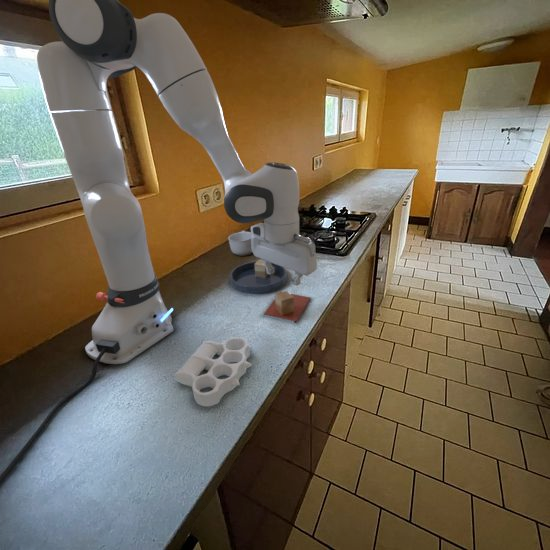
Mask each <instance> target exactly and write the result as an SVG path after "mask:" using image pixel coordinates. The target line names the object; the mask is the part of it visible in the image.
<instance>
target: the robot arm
mask: <svg viewBox="0 0 550 550" xmlns="http://www.w3.org/2000/svg"><path fill="white" fill-rule="evenodd" d="M48 13H49V19H50V21H51V24H52V26H53V28H54V31H55V33H56V34H57V36H58V37H59V38H60V40H61V41H52V42H48V43H46V44H44V45H42V46H41V47H40V48H39V49H38V51H37V55H36V62H37V69H38V75H39V80H40V84H41V89H42V93H43V97H44V100H45V104H46V106H47V110H48V112H49V115H50V119H51V121H52V125H53V128H54V131H55V132H56V137H57V139H58V142H59V145H60V147H61V150H62V153H63V155H64V158H65V161H66V163H67V166H68V169H69V173H70V175H71V177H72V180H73V182H74V185H75V188H76V191H77V194H78V197H79V199H80V202H81V206H82V209H83V213H84V218H85V221H86V223H87V227H88V229H89V231H90V235H91V238H92V240H93V243H94V247H95V249H96V251H97V254H98V257H99V260H100V264H101V266H102V269H103V272H104V276H105V278H106V281H107V284H108V285H107V293H106V292H103V291H99V292H97V293H96V296H95V299H96V300H98V301H101V302H106V303H105V305H104V307H103V309H102V311H100V314H99V315H98V317H97V318H96V320H95V322H94V323H93V324H92V326H91V337H92V340H91V341H90V342H88V343H87V344H86V345H85V346H84V350H85V353H86V355H87V356H88V357H89V358H90V359H92V360H94V362H93V364H92V369H91V375H90V376H89V378H88V379H87V380H86V381H85V382H84V383H83V384H82V385H81V386H79V387H78V388H76V389H75V390H73V391H71V392H70V393H68V394H67V395H66V396H65V397H63V398H62V399H61V400H59V402H58V403H57V404H56V405H55V407H54V408H53V409H52V410H51V411H50V412H49V413H48V415H47V416H46V417H45V418H44V420H43V421H42V423H41V424H40V426H39V427H38V428H37V429H36V431H35V432H34V434H32V436H31V437H30V438H29V440H28V441H27V442H26V444H24V446H23V447H22V448H21V450H20V451H19V452H18V453H17V455H16V456H15V457H14V458H13V459H12V461H11V462H10V463H9V464H8V466H7V467H6V468H5V469H4V471H3V472H2V473H1V474H0V485H1V483H2V482H4V480H5V479H6V477H7V476H9V474H10V473H11V472H12V470H13V469H14V468H15V467H16V466H17V464H18V463H19V461H20V460H21V459H22V458H23V456H24V455H25V454H26V452H27V451H28V450H29V448H30V447H32V445H33V444H34V442H35V441H36V440H37V439H38V437H39V436H40V434H41V433H42V432H43V430H44V429H45V428H46V426H47V425H48V424H49V422H50V421H51V420H52V418H53V417H54V416H55V414H56V413H57V412H58V411H59V410H60V409H61V407H62V406H63V405H64V404H66V403H67V401H69V400H70V399H72V398H73V397H74V396H76V395H77V394H78V393H80V392H81V391H83V390H84V389H85V388H87V387H88V386H89V385H90V384H91V383H92V382H93V380H94V379H95V378H96V375H97V371H98V369H97V368H98V365H99V363H102V364H107V365H108V364H109V365H122V364H127V363H129V362H130V361H131V360H132V359H134V358H136V357H137V356H139V355H140V354H141V353H143V352H145V351H146V350H148V349H149V348H150V347H152V346H153V345H155V344H156V343H158V342H159V341H161V340H162V339H164V338H166V336H168V335H170V334H171V333H173V332H174V327H173V324H172V323H173V322H172V321H173V316H172V314H171V313H172V312H173V311H174V308H173V307H171V308H170V309H169V310H168V308H167V306H166V305H165V303H164V300H163V297H162V295H161V292H160V283H159V280H158V275H157V274H156V273H155V271H154V270H155V269H154V267H153V263H152V258H151V254H150V251H149V245H148V238H147V231H146V225H145V220H144V215H143V210H142V205H141V203H140V201H139V199H137V198H136V196H135V195H134V194H133V193H132V191H131V187H130V183H129V178H128V174H127V168H126V163H125V157H124V150H123V146H122V142H121V139H120V135H119V131H118V127H117V123H116V119H115V115H114V113H113V110H112V105H111V101H110V98H109V93H108V88H107V87H108V86H107V84H108V83H107V82H108V79H109V78H110V79H116V78H117V77H118V78H119V77H120V76H123V75H125V74H127V73H129V72H132V71H135V70H136V69H137V68H138V69H139V70H140V71H141V72H142V73H143V74H144V75H145V77H146V78H147V80H148V82H149V83H150V84H151V86H152V88H153V89H154V92H155V93H156V95H157V97H158V99H159V100H160V102H161V104H162V105H163V108H164V109H165V110H166V111H167V113H168V114H169V116H170V117H171V119H172V120H173V121H174V122H175V124H176V125H177V126H178V127H179V128H180V129H181V130H182V131H183V132H185V133H187V134H188V135H189V136H191V137H192V138H194V139H195V140H196V141H197V142H199V144H200V145H201V146H202V147H203V148H204V149H205V151H206V153H207V154H208V156H209V158H210V159H211V161H212V162H213V165H214V166H215V168H216V169H217V172H218V173H219V175H220V176H221V178H222V182H223V186H224V197H223V207H224V210H225V213H226V215H227V216H228V217H229V218H230V219H231V220H233V221H234V222H236V223H239V224H250V223H255V222H258V223H256V224H254V225H251V226H250V232H251V233H252V234H253V235H252V237H251V245H252V254H253V256H254V257H256V258H258V259H260V260H263V263H264V265H265V267H266V270H267V274H269V275H272V274H274V273H275V271H274V267H272V264H271V263H274V264H277V265H279V266H282V267H284V268H285V269H286V270H290V271H293V272H294V275H295V277H292V278H291V285H294V286H296V287H297V286H299V285H301V279H302V277H303V276H309V275H312V274H313V273H314V272H316V270H317V268H318V266H317V265H318V264H317V263H318V262H317V253H316V244H315V242H314V241H313V240H312V239H311V238H309V237H305V236H302V235H300V214H299V206H300V181H299V175H298V172H297V170H296V169H295V168H294V167H293V166H291V165H289V164H285V163H282V162H267V163H265V164H264V165H263V166H262V167H261V168H260V169H258V170H256V171H255V172H253V173H251V172H250V171H249V170H248V169H247V168H246V167H245V165H244V164H243V161H242V160H241V158H240V156H239V154H238V152H237V150H236V148H235V146H234V145H233V142H232V140H231V138H230V136H229V134H228V131H227V127H226V123H225V119H224V118H225V117H224V114H223V109H222V106H221V101H220V98H219V95H218V93H217V90H216V87H215V84H214V81H213V79H212V77H211V74H210V73H209V70H208V68H207V66H206V65H205V63H204V60H203V59H202V57H201V55H200V54H199V52H198V50H197V48H196V46H195V45H194V43H193V41H192V40H191V38H190V36H189V35H188V33H187V32H186V31H185V30H184V28H183V27H182V25H181V24H180V23H179V22H178V20H177V19H176V17H173V15H170V14H169V13H164V12H156V13H151V14H149V15H147V16H145V17H143V18H135V16H134V14H133V13H132V11H131V10H130V9H129V8H128V7H126V6H125V5H124V4H123V3H121V2H120V1H119V0H48ZM260 221H262V222H260Z"/></svg>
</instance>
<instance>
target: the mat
mask: <svg viewBox="0 0 550 550" xmlns="http://www.w3.org/2000/svg"><path fill="white" fill-rule="evenodd" d="M282 292H283V291H280V292H279V293H282ZM290 294H291V295H292V296H293V297H294V312H292V313H288V314H285V315H281V314H280V313H279V312H278V311H277V310H276V303H275V299H274V300H273V301H272V302H271V303H270V304H269V306H268V308H266V310H265V311H264V312H263V315H266V316H270V317H274V318H277V319H283V320H288V321H292V322H294V323H296V324H297V323H298V321H299V320H300V318H301V316H302V314H303V313H304V311H305V309H306V307H307V306H308V304H309V302H310V300H311V297H310V296H304V295H299V294H298V295H297V294H293V293H290Z"/></svg>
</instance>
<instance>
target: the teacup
mask: <svg viewBox="0 0 550 550" xmlns="http://www.w3.org/2000/svg"><path fill="white" fill-rule="evenodd" d="M252 235H253V234H252V233H251V231H246V230H241V231H238V232H235V233H232V234H230V235H229V236H228V237H227V239H228V244H229V248H230V251H231V253H232V254H233V255H236V256H238V257H245V256H249V255H251V254H253V252H252V245H251V237H252Z"/></svg>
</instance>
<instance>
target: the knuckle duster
mask: <svg viewBox="0 0 550 550" xmlns="http://www.w3.org/2000/svg"><path fill="white" fill-rule="evenodd" d="M250 352H251V351H250V344H249V341H247V339H245V338H243V337H231V338H229V339H227V340H225V341H223V342H217V341H212V340H205V341H203V342H201V345H200V346H199V347H198V348H197V349H196V351H195V352H194V353H193V354H192V355H190V356H189V357H188V359H187V360H186V361H185V362H184V364H183V365H182V366H181V367H180V368H179V369H178V370H177V371H176V372H175V373H174V375H173V378H174V380H175V381H177V382H178V383H180V384H182V385H184V386H188V387H191V389H192V393H193V397H194V401H195V402H196V404H198V405H199V406H200V407H201V406H202V407H208V408H209V407H213V406H216V405H217V404H219V403H220V402H221V399H222V398H223V396H224V395H226V394H227V393H229V392H232V391H233V390H234V389H235V388H236V387H238V386H241V384H240V382H239V381H240V380H241V377H243V376H244V375H245V374H246V373H247V369H248V368H251V367H252V366H253V364H251V363H250V362H249V361H247V360H248V359H249V357H251V353H250ZM214 356H219V357H218V358H215V359H214ZM204 370H205V371H207V373H203V374H201V373H202V372H203V371H204ZM200 374H201V375H200ZM221 376H222V377H223V376H227V377H226V378H222V379H221V378H219V377H221ZM205 388H210V389H212V390H210V391H207V392H202V391H201V390H203V389H205Z"/></svg>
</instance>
